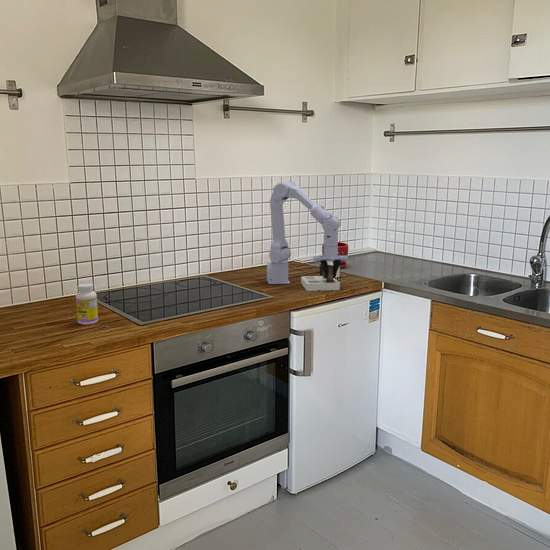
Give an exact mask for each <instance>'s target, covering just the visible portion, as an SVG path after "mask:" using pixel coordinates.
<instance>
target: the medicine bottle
mask: <svg viewBox="0 0 550 550" xmlns="http://www.w3.org/2000/svg"><path fill="white" fill-rule="evenodd" d="M322 256H324V255H323V254H322ZM327 260H329V259H327ZM326 262H327V263H328V265H332V266H333V261H326ZM340 269H341V268H340V266H339V268H338V271H337V274H336V279H338V278H339V277H340V273H341V272H340ZM319 276H323V268H322V266H321V263H320V262H319ZM337 277H338V278H337Z"/></svg>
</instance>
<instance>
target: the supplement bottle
mask: <svg viewBox="0 0 550 550" xmlns="http://www.w3.org/2000/svg"><path fill="white" fill-rule="evenodd" d="M77 288H78V292H77V293H76V294H75V302H76V303H75V306H76V319H77V323H78V324H79V325H85V326H87V325H88V326H89V325H93V324H96V323H98V322H99V313H98V312H99V311H98V296H97V293H96V292H95V291H93V290H94V284H93V283H80V284H78V286H77Z"/></svg>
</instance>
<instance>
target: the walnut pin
mask: <svg viewBox="0 0 550 550" xmlns="http://www.w3.org/2000/svg"><path fill="white" fill-rule="evenodd" d="M333 278H334V266H332V265H328V267H327V278H326V282H327V283H333Z"/></svg>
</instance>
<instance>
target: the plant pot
mask: <svg viewBox="0 0 550 550" xmlns="http://www.w3.org/2000/svg"><path fill="white" fill-rule="evenodd" d="M321 248H322V249H321V253H322V254H321V255H322V256H323V255H324V242H323V243H322V246H321ZM337 255H339V256H348V257H349V244H348V243H346V242H341V241H338V251H337ZM340 262H341V265H340V269H344V268H345V267H346V266H347V263H346V261H340ZM343 267H344V268H343Z"/></svg>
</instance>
